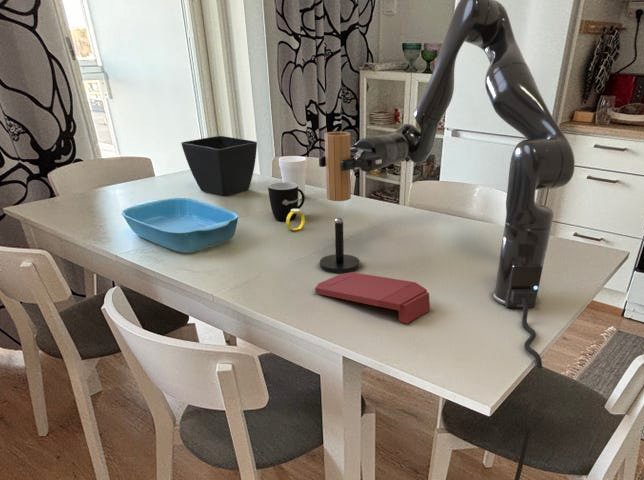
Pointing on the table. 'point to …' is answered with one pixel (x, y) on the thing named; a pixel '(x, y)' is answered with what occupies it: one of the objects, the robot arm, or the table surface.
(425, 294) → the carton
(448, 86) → the robot arm
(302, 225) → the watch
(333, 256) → the stand
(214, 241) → the casserole dish
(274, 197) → the mug
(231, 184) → the flower pot
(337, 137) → the wooden tube
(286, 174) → the foam cup
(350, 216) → the table surface
